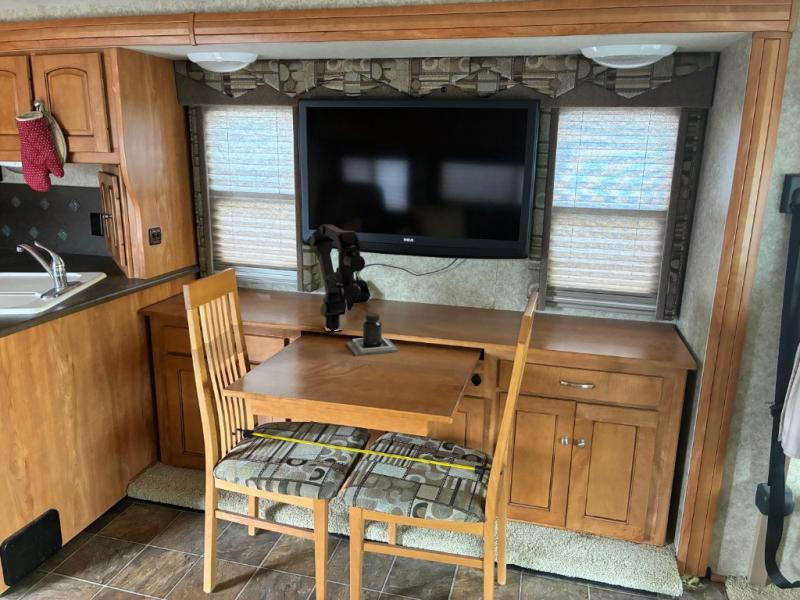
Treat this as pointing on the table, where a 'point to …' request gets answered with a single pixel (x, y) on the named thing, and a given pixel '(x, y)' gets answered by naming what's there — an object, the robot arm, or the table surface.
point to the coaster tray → (361, 350)
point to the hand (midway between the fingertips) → (346, 306)
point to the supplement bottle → (372, 331)
